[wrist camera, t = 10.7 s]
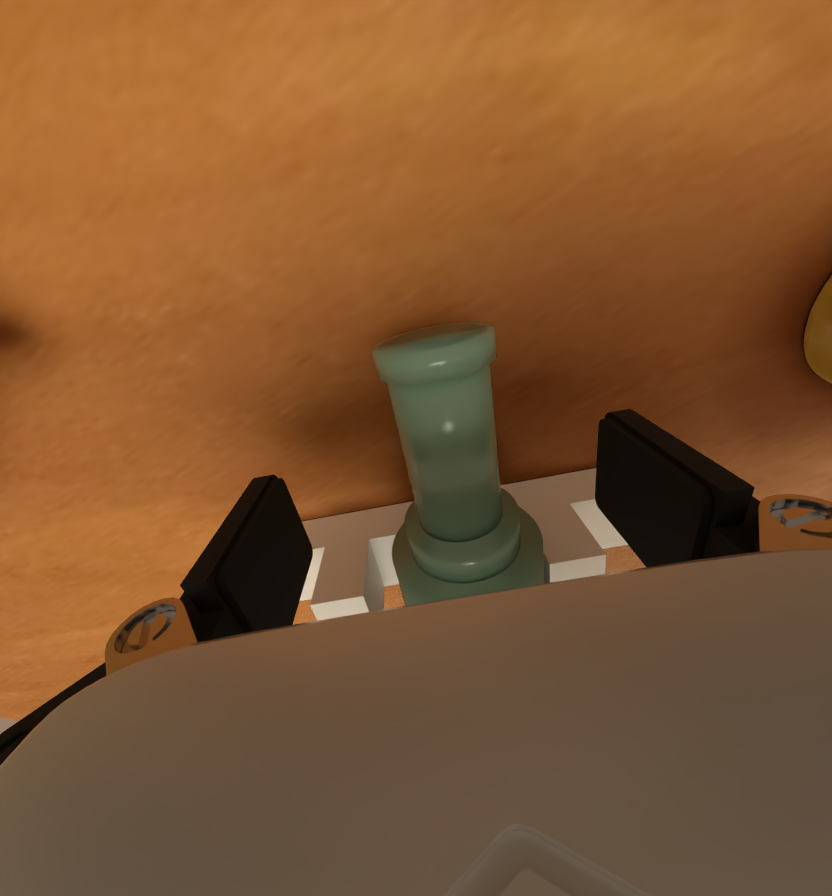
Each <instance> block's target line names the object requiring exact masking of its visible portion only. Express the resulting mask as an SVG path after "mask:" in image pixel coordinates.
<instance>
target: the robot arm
mask: <svg viewBox="0 0 832 896" xmlns="http://www.w3.org/2000/svg"><path fill="white" fill-rule="evenodd" d="M753 491H754V487H753V486H752V485H750V484H749V483H747V482H745V481H744V480H742V479H741V478H739V477H737V476H736V475H734V474H733V473H731V472H730V471H728V470H726V469H725V468H723V467H722V466H720V465H718V464H717V463H715V462H714V461H712V460H711V459H709V458H707V457H706V456H704V455H703V454H701V453H699V452H698V451H696V450H695V449H693V448H691V447H690V446H688V445H687V444H685V443H684V442H682V441H680V440H679V439H677V438H676V437H674V436H672V435H671V434H669V433H668V432H666V431H665V430H663V429H661V428H660V427H658V426H657V425H655V424H653V423H652V422H650V421H649V420H647V419H646V418H644V417H642V416H641V415H639V414H638V413H636V412H634V411H633V410H631V409H626V410H621V411H616V412H610V413H607V414H606V416H605V418H604V419H601V420H600V422H599V431H598V448H597V466H596V483H595V501H596V504H597V506H598V508H599V509H600V510H601V512H602V513H603V514H604V515H605V517H606V518H607V519H608V520H609V522H610V523H611V524H612V525H613V526H614V528H615V529H616V530H617V531H618V533H619V534H620V535H621V536H622V538H623V539H624V540H625V541H626V543H627V544H628V545H629V546H630V547H631V549H632V550H633V551H634V552H635V554H636V555H637V556H638V557H639V559H640V560H641V561H642V562H643V563H644V565H645V566H646V567H647V568H640V569H634V570H627V571H621V572H615V573H608V574H602V575H595V576H589V577H583V578H576V579H570V580H563V581H557V582H551V583H544V584H538V585H531V586H525V587H519V588H513V589H507V590H500V591H494V592H488V593H482V594H476V595H469V596H463V597H457V598H451V599H445V600H439V601H433V602H427V603H420V604H414V605H408V606H402V607H396V608H390V609H384V610H378V611H372V612H366V613H360V614H354V615H349V616H343V617H337V618H331V619H325V620H319V621H313V622H307V623H301V624H295V625H292V624H293V621H294V617H295V614H296V611H297V607H298V604H299V601H300V597H301V594H302V591H303V587H304V584H305V581H306V577H307V574H308V571H309V567H310V564H311V560H312V557H313V549H312V545H311V542H310V540H309V538H308V535H307V533H306V531H305V528H304V526H303V524H302V521H301V519H300V517H299V514H298V512H297V510H296V507H295V505H294V503H293V500H292V498H291V496H290V493H289V491H288V489H287V486H286V484H285V482H284V480H283V479H282V478H279V479H278V478H277V477H276V476H275V475H269V476H263V477H258V478H254V479H253V480H252V481H251V482H250V484H249V485H248V487H247V488H246V490H245V491H244V493H243V494H242V496H241V497H240V498H239V500H238V501H237V503H236V504H235V506H234V507H233V509H232V510H231V512H230V513H229V515H228V516H227V517H226V519H225V520H224V522H223V523H222V525H221V526H220V528H219V529H218V531H217V532H216V534H215V535H214V536H213V538H212V539H211V541H210V542H209V544H208V545H207V547H206V548H205V550H204V551H203V553H202V554H201V555H200V557H199V558H198V560H197V561H196V563H195V564H194V566H193V567H192V569H191V570H190V571H189V573H188V574H187V576H186V577H185V579H184V580H183V582H182V583H181V585H180V586H181V587H182V589H183V590H184V593H183V594H182V596H181V597H180V599H177V598H164V599H161V600H158V601H155V602H152V603H150V604H148V605H146V606H144V607H142V608H141V609H139V610H138V611H136V612H135V613H134V614H132V615H131V616H130V617H128V618H127V619H126V620H125V621H124V622H123V623H122V624H120V626H119V627H118V628H117V629H116V630H115V631H114V633H113V634H112V635H111V637H110V639H109V641H108V642H107V644H106V649H105V663H103V664H102V665H101V666H99V667H98V668H96V669H95V670H93V671H92V672H90V673H89V674H87V675H86V676H84V677H83V678H82V679H80V680H79V681H77V682H76V683H74V684H73V685H71V686H70V687H68V688H67V689H65V690H64V691H62V692H61V693H60V694H58V695H57V696H55V697H54V698H52V699H51V700H49V701H48V702H46V703H45V704H43V705H42V706H41V707H39V708H38V709H36V710H35V711H33V712H32V713H30V714H29V715H27V716H26V717H24V718H23V719H22V720H20V721H19V722H17V723H16V724H14V725H13V726H11V727H10V728H9V729H7V730H6V731H4V732H3V733H2V734H0V896H832V503H831V502H828V501H826V500H823V499H818V498H814V497H809V496H803V495H793V494H782V495H774V496H770V497H766V498H765V499H763V500H762V501H761V502H760V501H759V500H757V499H756V498H754V497H753V496H752V494H753Z"/></svg>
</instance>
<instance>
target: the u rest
mask: <svg viewBox="0 0 832 896" xmlns="http://www.w3.org/2000/svg"><path fill="white" fill-rule="evenodd" d="M595 483H596V468H593V469H588V470H582V471H577V472H571V473H566V474H560V475H555V476H549V477H544V478H538V479H533V480H527V481H522V482H516V483H511V484H505V485H501V488H503V489H504V490H506V491H507V492H508V493H510V494H511V495H512V497H513V498H514V499H515V501H516V502H517V505H518V506H519V507H520V508H522V509H523V510H525V511H526V512H527V513H528V514H529V515H530V516H531V517H532V518H533V519H534V520H535V522H536V523H537V525H538V527H539V529H540V531H541V534H542V538H543V558H544V583H551V582H557V581H563V580H570V579H576V578H583V577H589V576H595V575H602V574H605V565H606V553H605V552H604V551H603V549H606V548H612V547H618V546H623V545H628V544H627V543H626V541H625V540H624V539H623V538H622V536H621V535H620V534H619V533H618V531H617V530H616V529H615V528H614V526H613V525H612V524H611V523H610V522H609V520H608V519H607V518H606V517H605V515H604V514H603V513H602V512H601V510H600V509H599V508H598V506H597V504H596V501H595ZM412 502H413V501H412ZM412 502H406V503H401V504H395V505H390V506H384V507H379V508H373V509H368V510H362V511H357V512H351V513H346V514H340V515H335V516H329V517H324V518H318V519H313V520H307V521H302V524H303V526H304V528H305V531H306V533H307V535H308V538H309V540H310V542H311V545H312V549H313V557H312V560H311V564H310V567H309V571H308V574H307V577H306V581H305V584H304V587H303V591H302V594H301V597H300V601H303V600H309V599H311V603H310V606H311V608H312V610H313V612H314V614H315V617H316V619H317V621H319V620H325V619H331V618H337V617H343V616H349V615H354V614H360V613H366V612H372V611H378V610H383V609H384V586H390V585H396V584H399V581H398V578H397V574H396V571H395V568H394V564H393V560H392V545H393V541H394V538H395V536H396V534H397V532H398V530H399V529H400V527H401V526H402V525H403V523H404V521H405V515H406V512H407V510H408V508H409V506H410V505H411V503H412Z"/></svg>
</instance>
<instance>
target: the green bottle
mask: <svg viewBox="0 0 832 896" xmlns="http://www.w3.org/2000/svg"><path fill="white" fill-rule="evenodd" d="M372 355H373V359H374V363H375V367H376V371H377V375H378V378H379V379H380V380H381V381H383V382H386V383H387V385H388V389H389V394H390V398H391V402H392V407H393V411H394V415H395V419H396V424H397V428H398V432H399V437H400V441H401V445H402V450H403V454H404V458H405V462H406V467H407V471H408V475H409V480H410V484H411V488H412V493H413V497H414V501H413V502H412V503H411V505H410V506H409V508H408V510H407V512H406V515H405V521H404V523H403V525H402V526H401V527H400V529H399V530H398V532H397V534H396V536H395V538H394V541H393V545H392V560H393V564H394V568H395V571H396V574H397V578H398V581H399V585H400V588H401V591H402V595H403V598H404V601H405V605H406V606H408V605H414V604H420V603H427V602H433V601H439V600H445V599H451V598H457V597H463V596H469V595H476V594H482V593H488V592H494V591H500V590H507V589H513V588H519V587H525V586H531V585H538V584H544V558H543V538H542V534H541V531H540V529H539V527H538V525H537V523H536V522H535V520H534V519H533V518H532V517H531V516H530V515H529V514H528V513H527V512H526V511H525V510H523V509H522V508H520V507H519V506H518V505H517V502H516V501H515V499H514V498H513V497H512V495H511V494H510V493H508V492H507V491H506V490H504V489H503V488H501V484H500V473H499V462H498V451H497V440H496V428H495V417H494V406H493V395H492V384H491V373H490V364H491V363H492V362H493V361H494V360H495V359H496V357H497V350H496V338H495V327H494V325H493V324H490V323H486V322H459V323H449V324H442V325H436V326H431V327H426V328H421V329H417V330H413V331H409V332H405V333H402V334H399V335H396V336H393V337H390V338H388V339H385V340H383V341H381V342H379V343H377V344H376V345H374V346H373V347H372Z"/></svg>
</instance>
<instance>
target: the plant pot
mask: <svg viewBox="0 0 832 896" xmlns="http://www.w3.org/2000/svg"><path fill="white" fill-rule="evenodd" d="M804 352H805V357H806V360H807V362H808V364H809V366H810V368H811V369H812V370H813V371H814V372H815V373H816V374H817V375H818V376H819V377H821V378H822V379H824V380H826V381H828V382H829V383H831V384H832V275H831V277H830V278H829V280H828V281H827V283H826V284H825V286H824V287H823V289H822V290H821V292H820V293H819V295H818V297H817V299H816V301H815V303H814V305H813V307H812V309H811V311H810V314H809V317H808V321H807V325H806V328H805V334H804Z"/></svg>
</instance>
